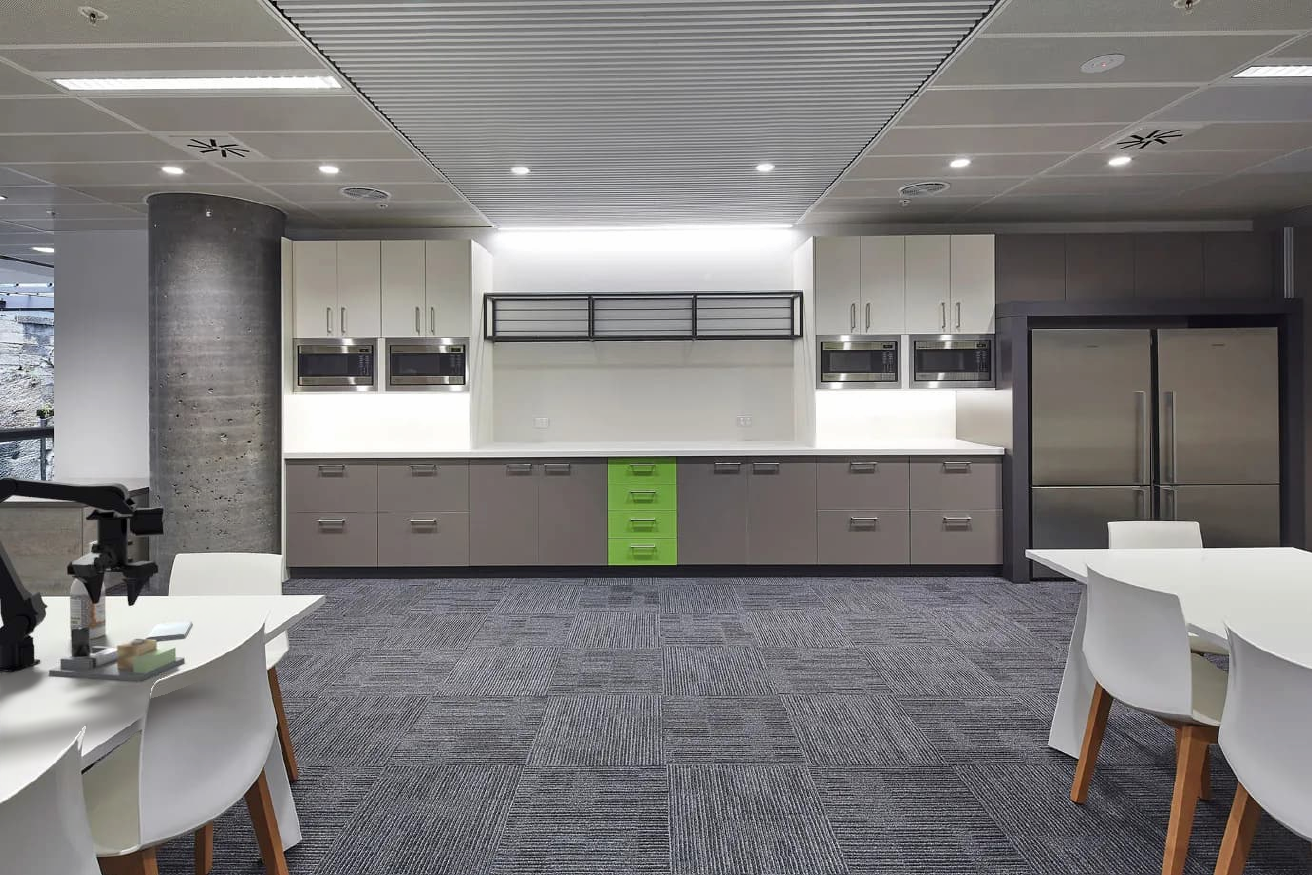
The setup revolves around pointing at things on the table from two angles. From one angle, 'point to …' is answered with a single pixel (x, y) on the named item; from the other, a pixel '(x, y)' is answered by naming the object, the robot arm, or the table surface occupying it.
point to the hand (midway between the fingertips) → (113, 604)
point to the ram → (82, 647)
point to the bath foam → (87, 610)
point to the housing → (133, 651)
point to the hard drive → (170, 630)
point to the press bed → (142, 668)
